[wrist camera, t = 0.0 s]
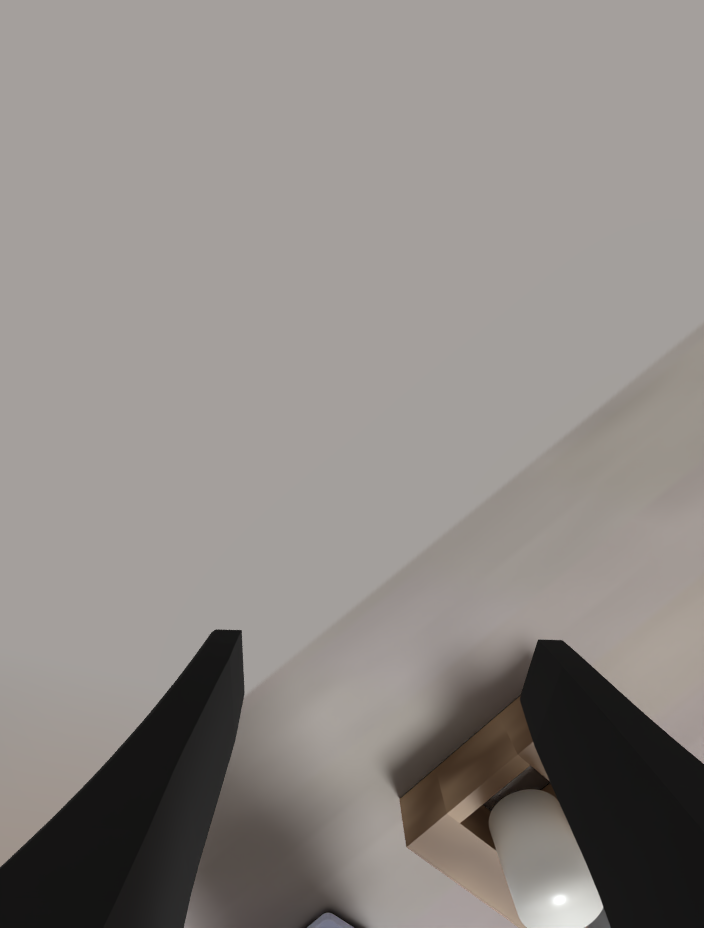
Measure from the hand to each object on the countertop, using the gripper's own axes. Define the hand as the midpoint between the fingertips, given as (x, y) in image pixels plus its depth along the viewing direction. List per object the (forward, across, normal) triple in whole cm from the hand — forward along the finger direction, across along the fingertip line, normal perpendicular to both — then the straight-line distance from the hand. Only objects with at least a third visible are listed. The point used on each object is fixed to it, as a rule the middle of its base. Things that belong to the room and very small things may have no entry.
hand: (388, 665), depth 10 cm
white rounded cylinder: (+5, -10, +17) cm, 20 cm away
